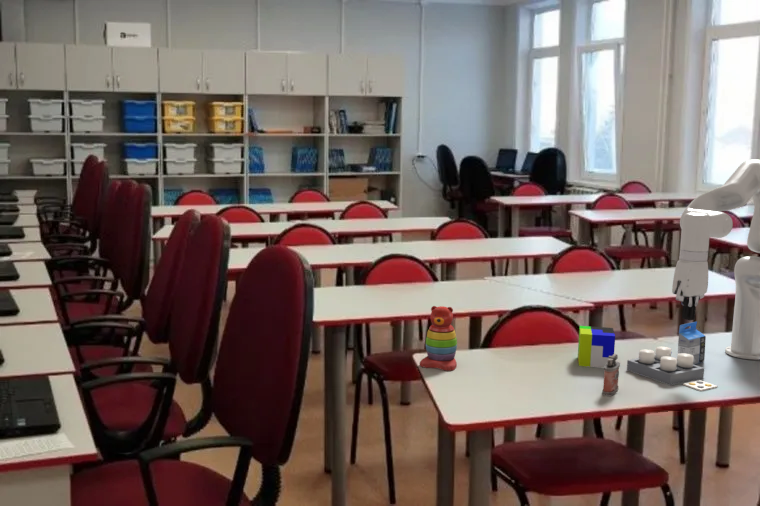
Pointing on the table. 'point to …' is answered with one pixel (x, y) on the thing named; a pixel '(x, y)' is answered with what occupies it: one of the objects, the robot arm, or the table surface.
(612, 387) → the lighter
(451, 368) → the stacking bear
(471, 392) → the table surface
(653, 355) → the button
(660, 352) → the button
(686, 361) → the button
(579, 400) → the table surface
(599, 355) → the puzzle toy
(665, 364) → the button
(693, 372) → the button board
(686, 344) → the label tape box
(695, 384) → the pattern card
